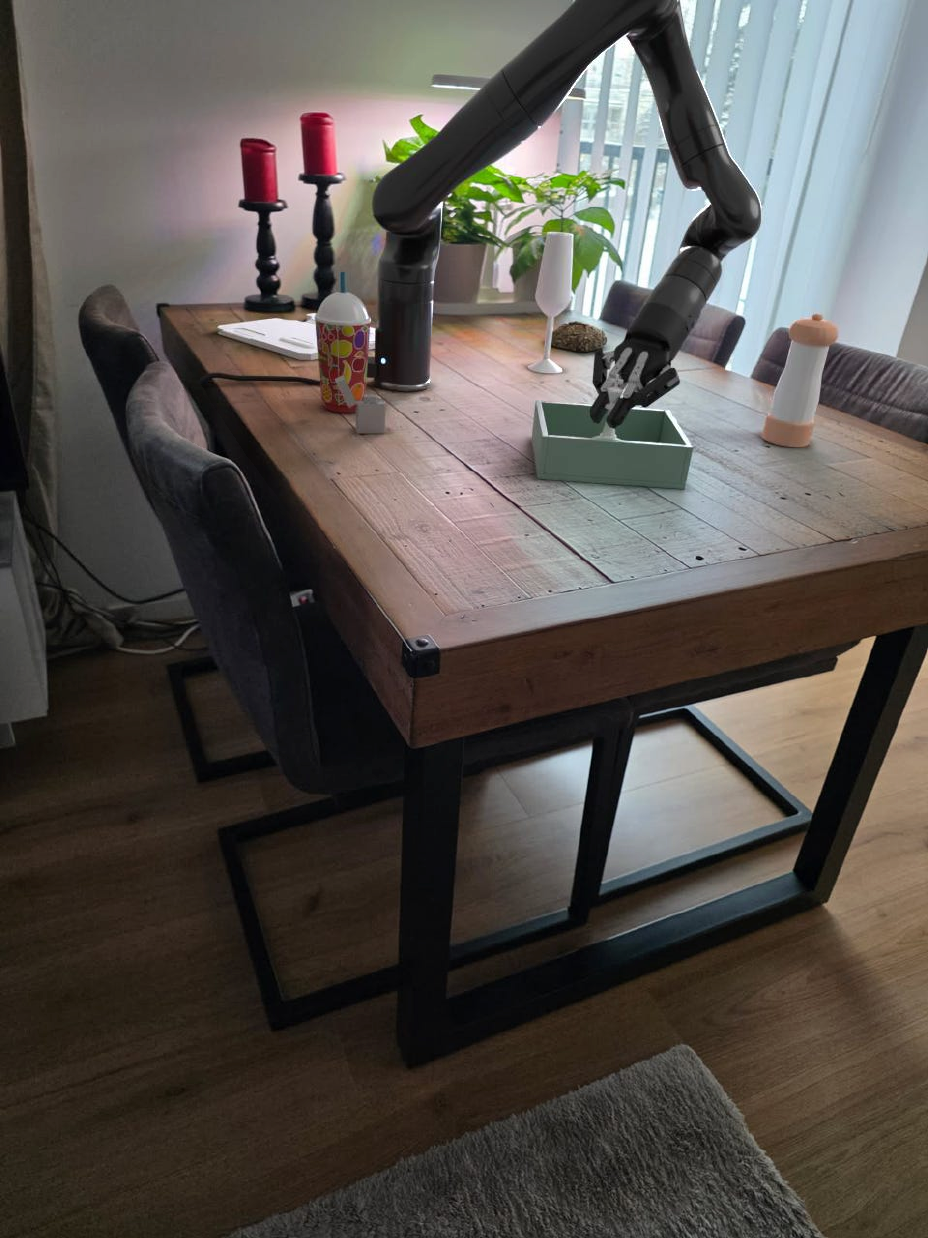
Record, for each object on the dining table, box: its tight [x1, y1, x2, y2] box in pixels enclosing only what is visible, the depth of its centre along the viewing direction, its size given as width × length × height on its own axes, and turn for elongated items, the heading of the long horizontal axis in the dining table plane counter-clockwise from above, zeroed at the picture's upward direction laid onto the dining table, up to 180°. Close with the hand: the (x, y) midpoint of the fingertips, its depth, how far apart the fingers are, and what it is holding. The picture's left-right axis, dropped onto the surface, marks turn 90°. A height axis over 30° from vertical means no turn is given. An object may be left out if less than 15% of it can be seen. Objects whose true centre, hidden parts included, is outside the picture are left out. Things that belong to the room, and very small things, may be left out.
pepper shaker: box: [761, 313, 839, 448], centre depth 130 cm, size 7×7×19 cm
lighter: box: [335, 375, 387, 435], centre depth 122 cm, size 7×2×8 cm, turn 104°
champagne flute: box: [527, 231, 574, 374], centre depth 159 cm, size 7×7×24 cm
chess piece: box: [593, 374, 624, 440], centre depth 116 cm, size 5×5×10 cm
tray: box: [217, 312, 376, 361], centre depth 174 cm, size 28×28×2 cm
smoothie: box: [315, 271, 372, 414], centre depth 129 cm, size 8×8×20 cm
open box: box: [531, 400, 694, 490], centre depth 118 cm, size 20×17×6 cm
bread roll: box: [551, 320, 608, 353], centre depth 184 cm, size 13×12×5 cm
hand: (602, 422), depth 115 cm, fingers closed on chess piece
